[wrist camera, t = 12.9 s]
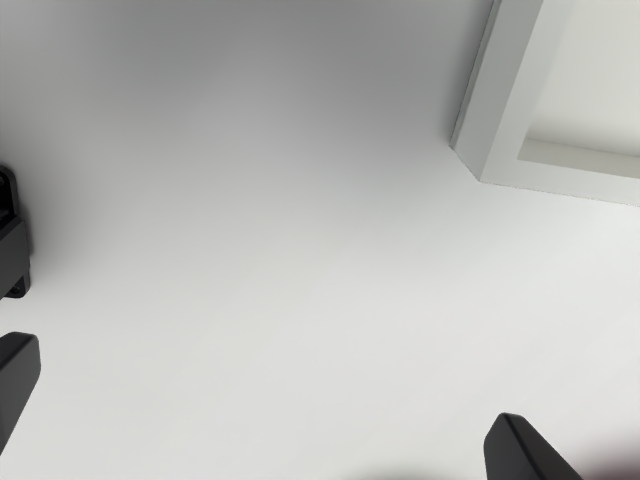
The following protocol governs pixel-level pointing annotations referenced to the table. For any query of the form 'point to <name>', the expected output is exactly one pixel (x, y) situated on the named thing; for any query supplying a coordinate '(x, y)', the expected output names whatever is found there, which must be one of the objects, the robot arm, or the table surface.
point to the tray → (556, 99)
